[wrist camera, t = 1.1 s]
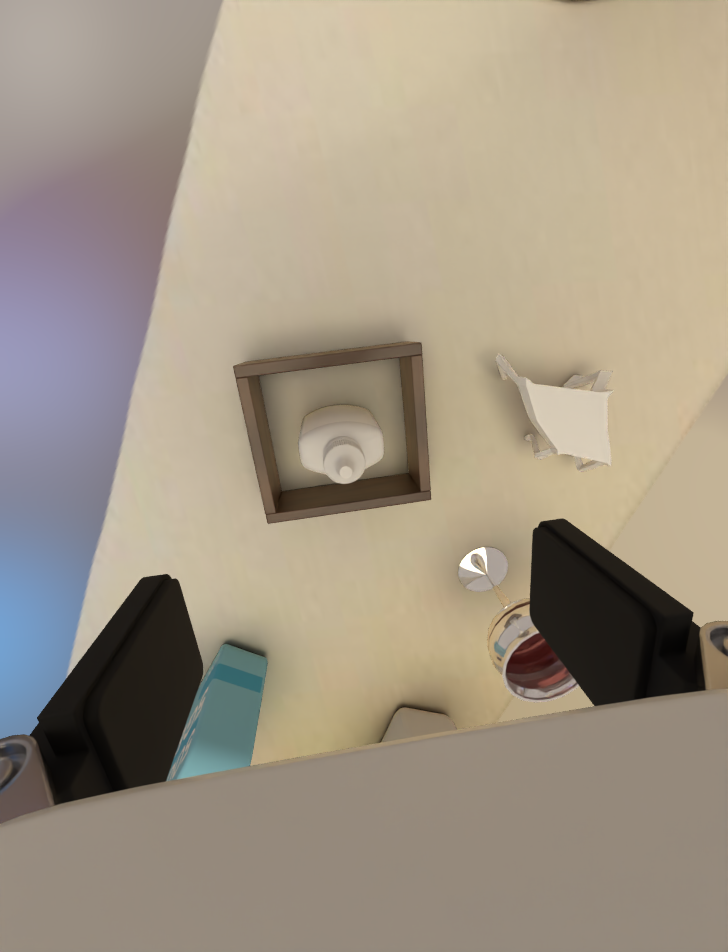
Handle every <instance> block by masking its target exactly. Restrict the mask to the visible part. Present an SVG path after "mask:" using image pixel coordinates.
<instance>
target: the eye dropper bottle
mask: <svg viewBox="0 0 728 952" xmlns="http://www.w3.org/2000/svg"><path fill="white" fill-rule="evenodd" d="M298 446H299V454H300V460H301V463H302V465H303V466H304V467H305V468H306V469H309V470H311V471H314V472H318V473H322V474H327V475H328V477H329V478H330V479H331V480H333V481H334V482H336V483H340V484H348V483H349V484H350V483H352V482H354V481H356V480H357V479H359V477H360V476H362V474H363V472H364V470H365V469H366V468H369V467H371V466H372V465H374V464H376V463H377V462H379V461H380V460H381V459H382V458H383V456H384V439H383V433H382V431H381V429H380V427H379V425H378V423H377V422H376V420H375V418H374V417H373V415H372V414H371V412H370V411H369V410H367V409H365V408H362V407H358V406H353V405H332V406H327V407H323V408H320V409H318V410H315V411H313V412H311V413H309V414H308V415H306V416H305V417H304V418H303V421H302V425H301V430H300V434H299V440H298Z"/></svg>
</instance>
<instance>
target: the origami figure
mask: <svg viewBox="0 0 728 952" xmlns="http://www.w3.org/2000/svg"><path fill="white" fill-rule="evenodd" d="M496 363H497V366H498V369H499V372H500V375H501V378H502V379H505V380H507V375H508V376H509V377H510V378H511V379H512V380H513V381H514V382H515V383H516V384H517V386H518V388H519V391H520V394H521V397H522V400H523V403H524V406H525V409H526V412H527V414H528V417H529V419H530V421H531V422H532V424H533V425H534V426H535V428H536V429H537V431H538V432H539V433H540V435H541V436H542V437H543V438H544V440H545V441H546V442H547V443H548V445H549V446H550V447H551V448H550V449H547V450H544V451H541V452H540V450H539V447H538V444H537V442H536V439H535V436H534V435H531V434H529V435H526V436H525V440H527V441H531V442H532V447H533V452H534V457H535V458H537V459H540V460H542V459H544V458H546V457H548V456H550V455H552V454H557V455H559V454H567V455H572V456H573V458H574V461H575V464H576V467H577V469H578V471H580V472H583V471H587V470H591V469H594V468H597V467H600V466H603V465H607V466H610V467H611V451H610V442H609V434H608V397H609V396H610V395H611V394H612V393H613V392H614V391H615V390H607V389H605V388H606V386H607V384H608V382H609V379H610V377H611V375H612V372H613V371H604V370H600V371H598V372H595V373H593V374H590V375H587V376H585V377H582V375H573V376H572V377H571V378H570V379H569V380H568V381H567V382H566V383H565V384H564V385H563V387H555V386H547V385H539V384H533V383H532V382H531V381H530V380H529V379H527V378H526V377H519V376H518V375H517V373H516V372H515V371H514V369H513V368H512V366H511V365H510V364H509V362H508V361H507V360H506V358H505V357H504V356H502V355H500V354H498V355H497V357H496ZM592 382H594V384H593V386H592V388H591V390H590V391H586V390H578V389H572V388H575V387H578V386H582V385H585V384H589V383H592ZM580 457H581V458H586V459H590V460H592V461H590V462H588V463H586V464H583V462H582V460H581V458H580Z"/></svg>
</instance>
